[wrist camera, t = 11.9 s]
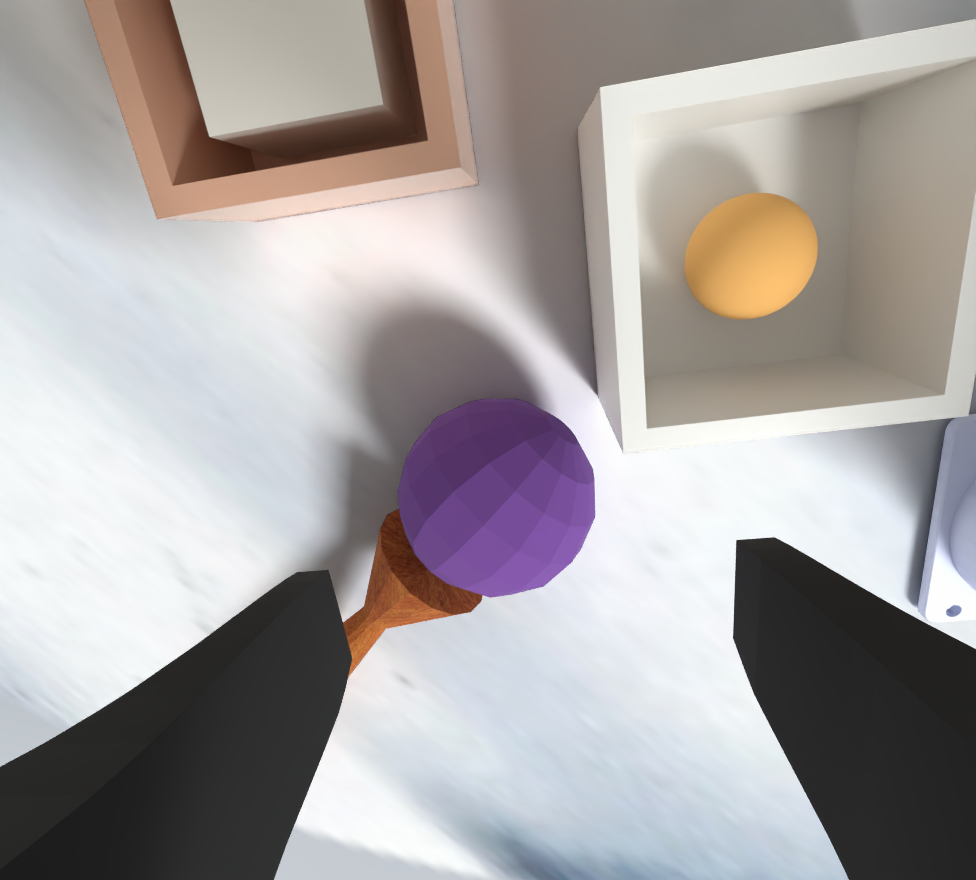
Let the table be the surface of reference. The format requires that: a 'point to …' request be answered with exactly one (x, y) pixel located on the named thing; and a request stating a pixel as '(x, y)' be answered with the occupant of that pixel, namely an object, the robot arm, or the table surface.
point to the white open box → (837, 221)
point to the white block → (297, 72)
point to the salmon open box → (262, 177)
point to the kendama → (477, 516)
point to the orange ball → (751, 256)
